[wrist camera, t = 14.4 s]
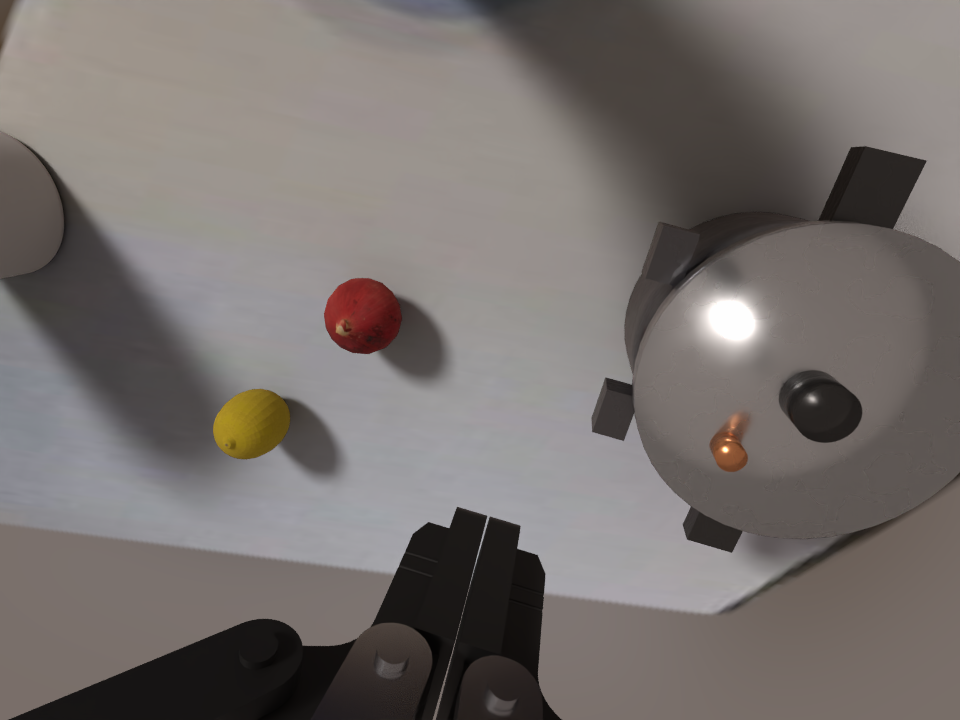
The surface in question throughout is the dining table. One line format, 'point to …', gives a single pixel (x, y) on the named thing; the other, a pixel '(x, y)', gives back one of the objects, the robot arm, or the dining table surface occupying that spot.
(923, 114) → the dining table surface
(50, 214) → the cylinder vase
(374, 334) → the pomegranate
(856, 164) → the cooker pot
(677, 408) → the cooker lid
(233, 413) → the lemon
